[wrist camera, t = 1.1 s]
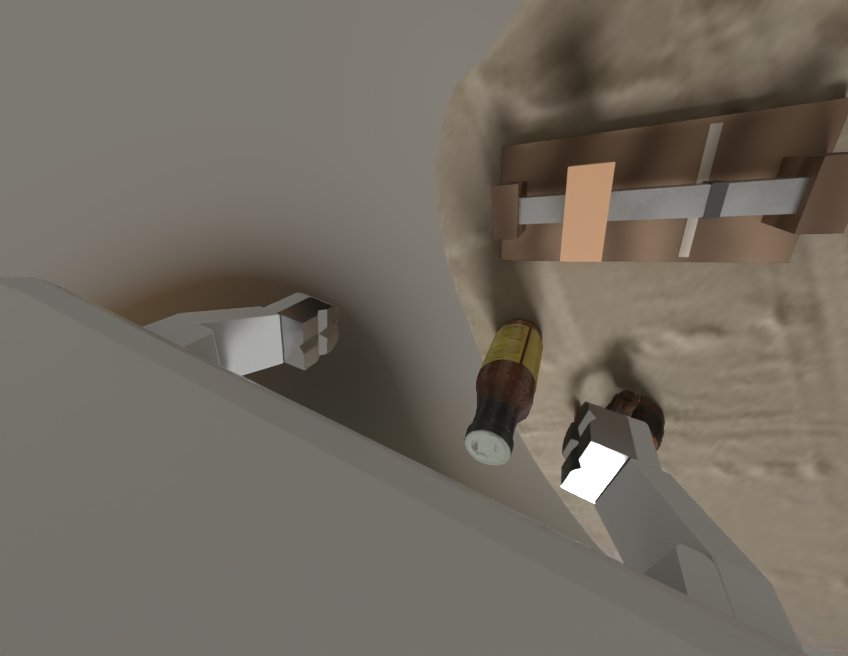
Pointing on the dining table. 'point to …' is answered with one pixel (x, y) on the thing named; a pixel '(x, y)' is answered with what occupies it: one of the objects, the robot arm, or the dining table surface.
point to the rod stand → (687, 187)
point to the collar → (586, 211)
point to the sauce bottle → (504, 391)
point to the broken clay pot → (638, 412)
